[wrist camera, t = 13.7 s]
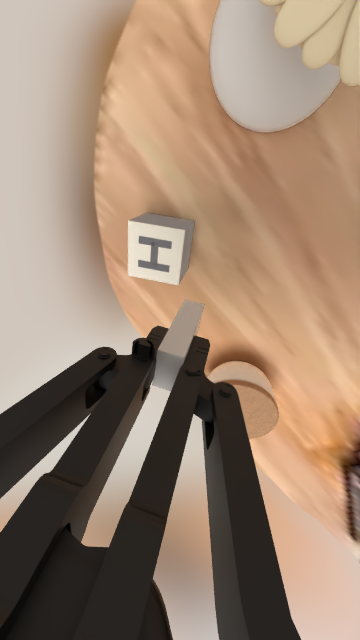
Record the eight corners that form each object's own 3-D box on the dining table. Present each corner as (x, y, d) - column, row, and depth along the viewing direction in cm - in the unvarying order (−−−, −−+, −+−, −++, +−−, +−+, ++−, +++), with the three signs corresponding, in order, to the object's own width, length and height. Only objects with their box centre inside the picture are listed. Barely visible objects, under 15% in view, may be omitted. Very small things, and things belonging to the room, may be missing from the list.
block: (128, 220, 26) (147, 212, 31) (127, 275, 29) (145, 259, 34) (184, 230, 25) (194, 220, 30) (178, 285, 28) (188, 268, 33)
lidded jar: (194, 356, 40) (182, 401, 32) (262, 341, 36) (267, 388, 28) (218, 402, 44) (212, 452, 36) (280, 394, 40) (289, 447, 32)
